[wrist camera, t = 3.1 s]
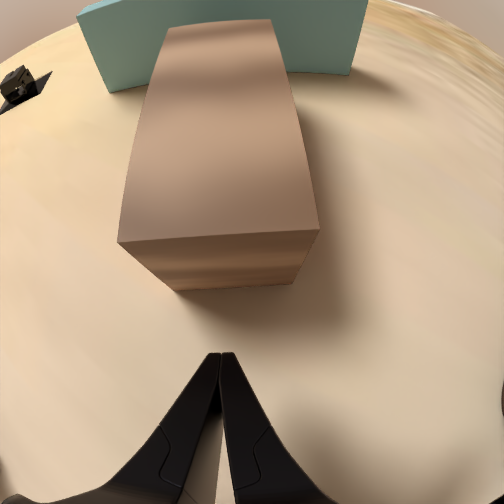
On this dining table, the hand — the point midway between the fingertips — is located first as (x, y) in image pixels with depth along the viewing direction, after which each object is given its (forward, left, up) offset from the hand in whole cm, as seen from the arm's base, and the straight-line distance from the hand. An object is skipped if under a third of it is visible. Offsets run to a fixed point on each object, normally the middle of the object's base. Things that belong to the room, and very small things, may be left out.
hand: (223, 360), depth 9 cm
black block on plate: (+9, +42, -7) cm, 44 cm away
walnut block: (+10, +7, -7) cm, 14 cm away
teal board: (+23, +16, -7) cm, 29 cm away
